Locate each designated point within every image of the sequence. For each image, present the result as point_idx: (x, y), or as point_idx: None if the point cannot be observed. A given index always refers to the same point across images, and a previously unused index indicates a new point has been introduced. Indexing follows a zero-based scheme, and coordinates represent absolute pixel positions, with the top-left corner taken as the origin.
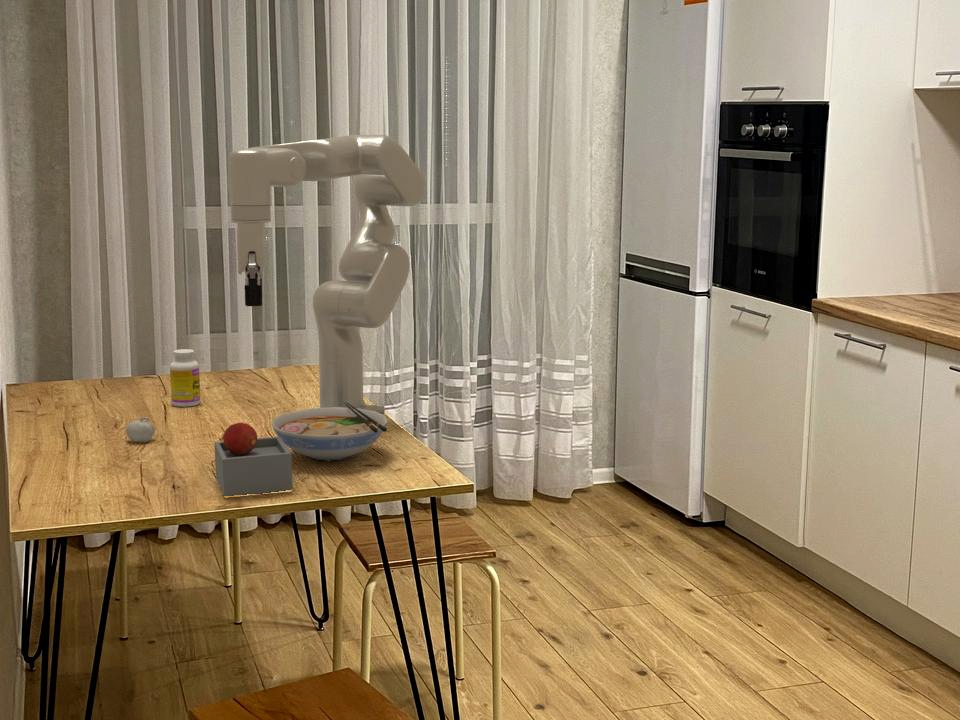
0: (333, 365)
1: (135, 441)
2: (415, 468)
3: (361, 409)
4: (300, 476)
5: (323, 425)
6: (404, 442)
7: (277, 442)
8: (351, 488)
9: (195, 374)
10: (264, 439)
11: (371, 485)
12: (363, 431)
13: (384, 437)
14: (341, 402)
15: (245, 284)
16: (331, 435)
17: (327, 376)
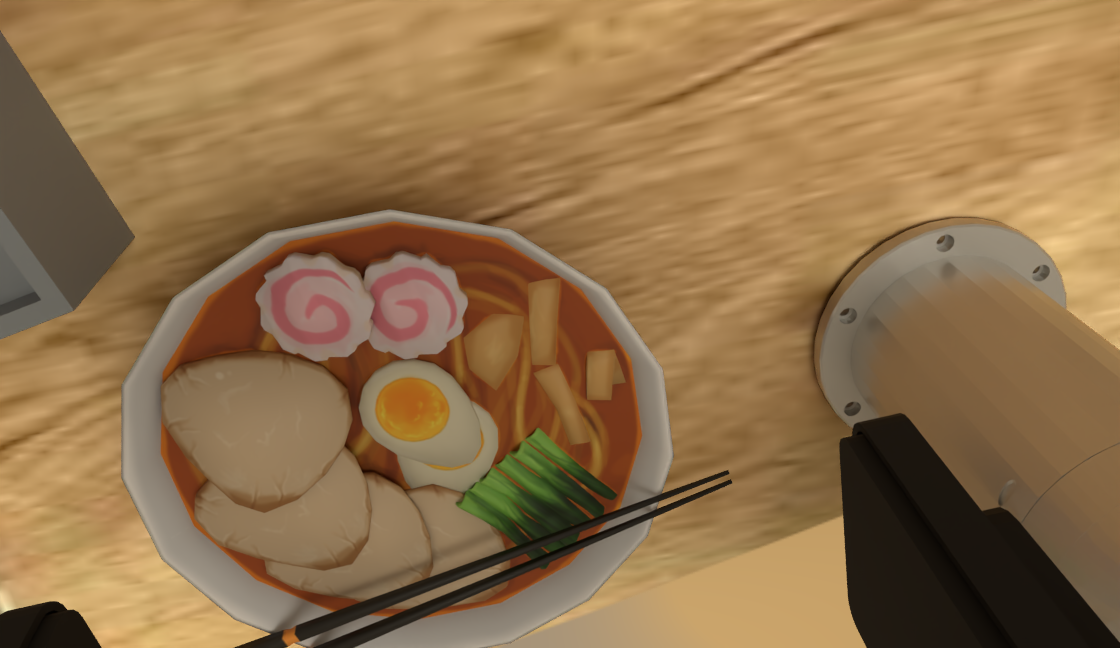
0: (992, 495)
1: None
2: None
3: (630, 545)
4: (110, 320)
5: (411, 425)
6: (623, 574)
7: (15, 306)
8: (12, 509)
9: None
10: (4, 248)
11: (68, 559)
12: (336, 580)
13: (695, 507)
14: (891, 408)
15: (981, 600)
16: (142, 517)
17: (981, 422)
